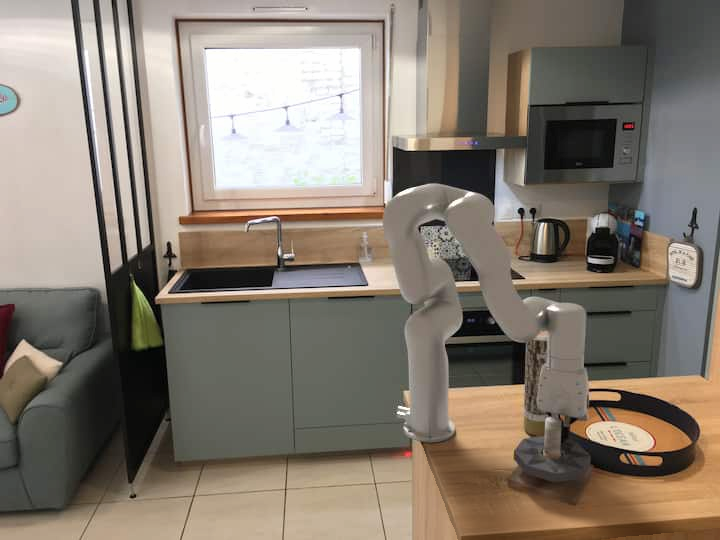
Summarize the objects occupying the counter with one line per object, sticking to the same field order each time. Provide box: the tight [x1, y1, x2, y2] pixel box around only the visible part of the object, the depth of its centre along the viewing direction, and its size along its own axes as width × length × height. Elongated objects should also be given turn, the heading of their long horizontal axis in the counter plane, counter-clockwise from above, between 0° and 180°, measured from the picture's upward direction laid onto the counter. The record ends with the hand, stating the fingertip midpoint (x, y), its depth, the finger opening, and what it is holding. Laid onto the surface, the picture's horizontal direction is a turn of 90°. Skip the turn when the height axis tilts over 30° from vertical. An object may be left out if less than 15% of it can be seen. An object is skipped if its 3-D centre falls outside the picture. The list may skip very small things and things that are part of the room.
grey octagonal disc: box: [513, 436, 592, 482], centre depth 135 cm, size 14×14×2 cm
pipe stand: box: [507, 417, 594, 506], centre depth 134 cm, size 14×14×14 cm
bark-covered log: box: [523, 331, 549, 437], centre depth 153 cm, size 7×7×25 cm
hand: (561, 439), depth 140 cm, fingers closed
